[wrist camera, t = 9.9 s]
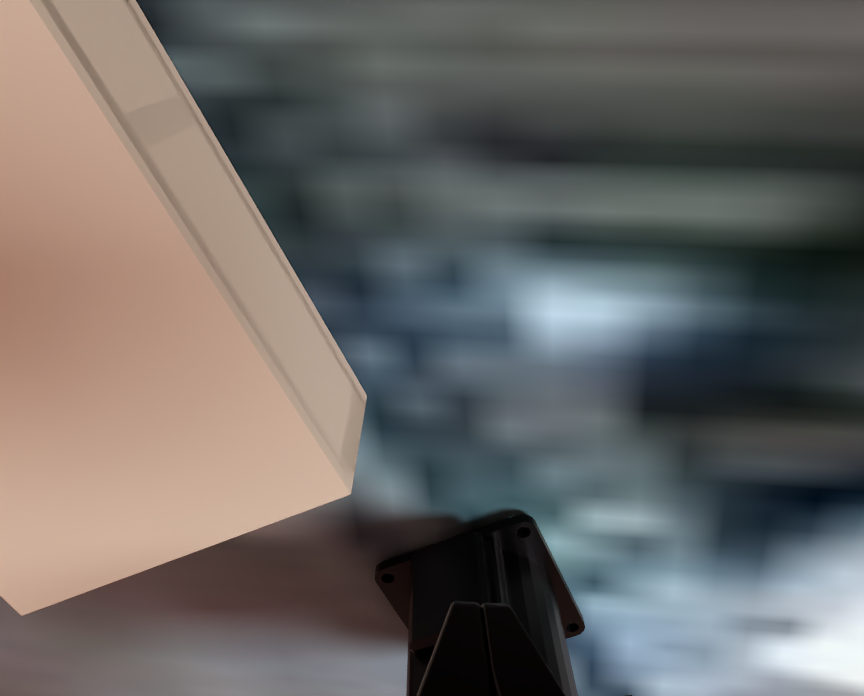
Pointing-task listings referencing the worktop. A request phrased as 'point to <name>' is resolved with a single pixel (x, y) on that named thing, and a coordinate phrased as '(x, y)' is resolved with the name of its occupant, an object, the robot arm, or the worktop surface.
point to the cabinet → (142, 320)
